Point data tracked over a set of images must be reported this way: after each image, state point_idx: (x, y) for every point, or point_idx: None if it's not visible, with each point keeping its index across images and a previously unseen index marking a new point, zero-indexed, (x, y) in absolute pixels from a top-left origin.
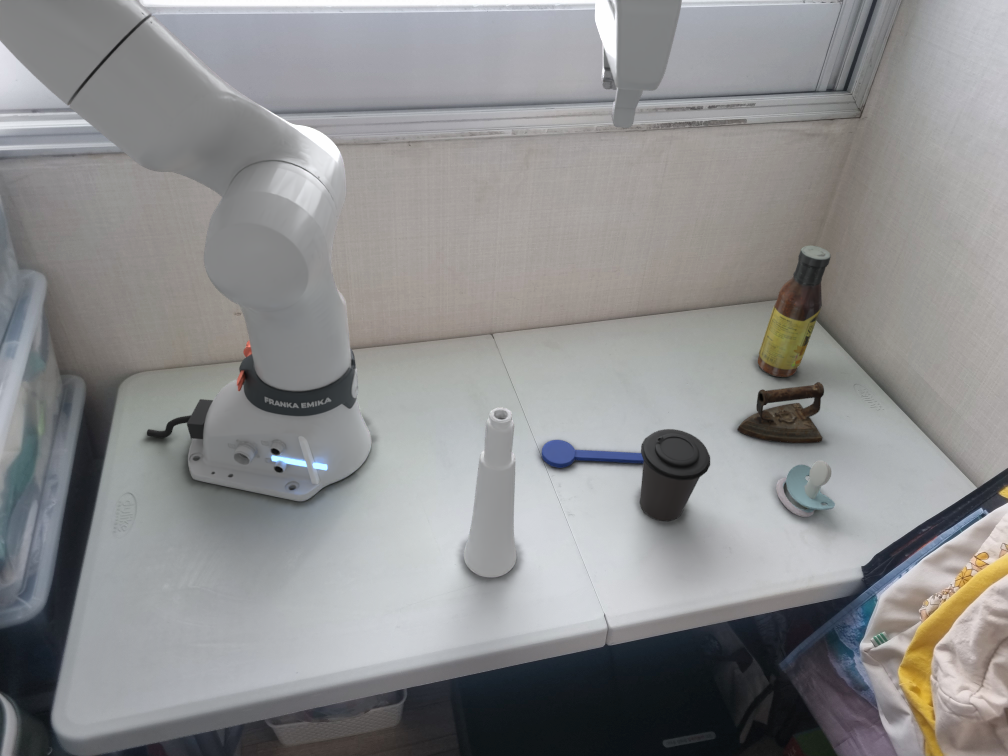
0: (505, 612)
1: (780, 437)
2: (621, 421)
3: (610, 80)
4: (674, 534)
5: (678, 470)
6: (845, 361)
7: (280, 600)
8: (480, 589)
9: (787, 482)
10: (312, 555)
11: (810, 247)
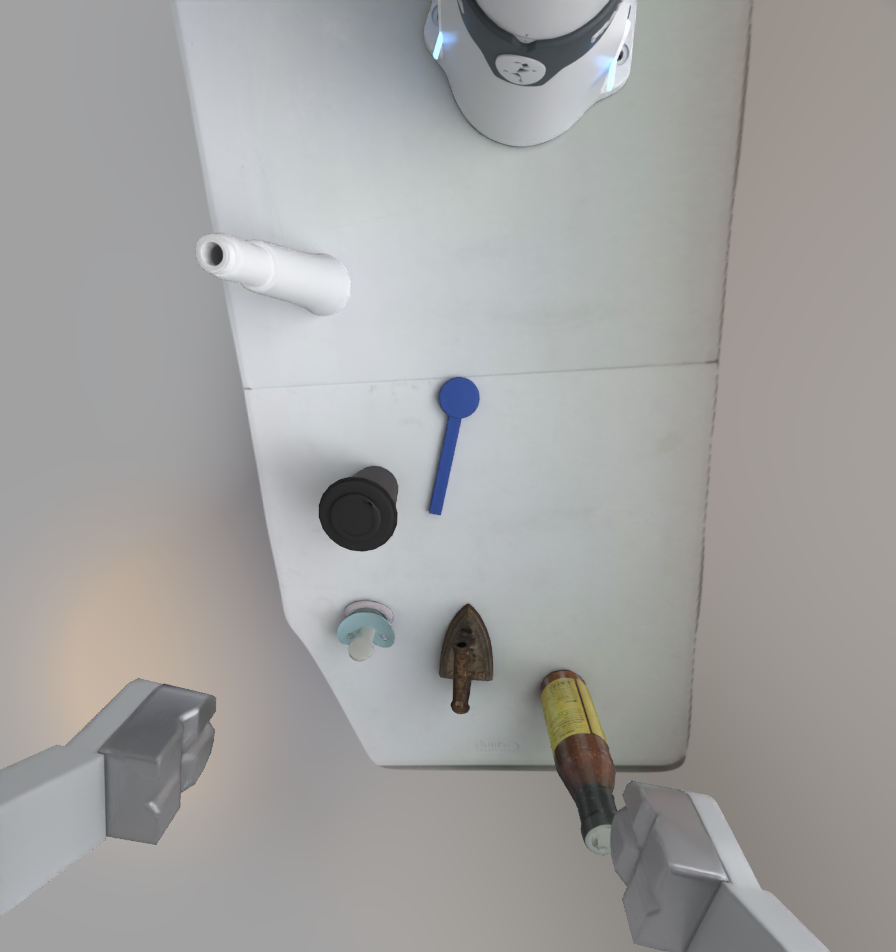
0: None
1: (446, 639)
2: (504, 487)
3: (642, 842)
4: None
5: (327, 508)
6: None
7: (279, 15)
8: None
9: (379, 616)
10: (339, 57)
11: None
